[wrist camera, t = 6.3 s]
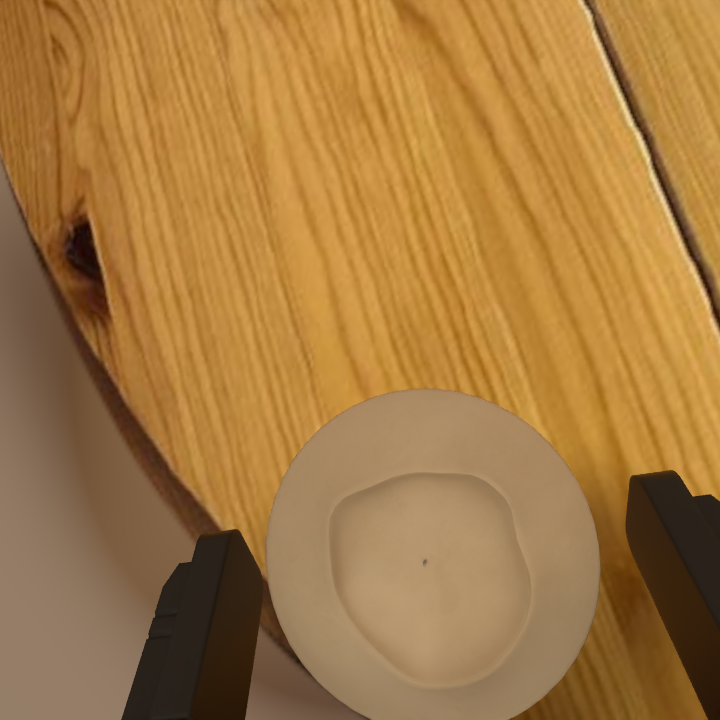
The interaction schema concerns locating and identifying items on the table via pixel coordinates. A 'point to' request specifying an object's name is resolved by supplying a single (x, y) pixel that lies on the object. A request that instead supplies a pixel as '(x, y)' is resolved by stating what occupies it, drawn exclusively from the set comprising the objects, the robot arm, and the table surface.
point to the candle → (433, 559)
